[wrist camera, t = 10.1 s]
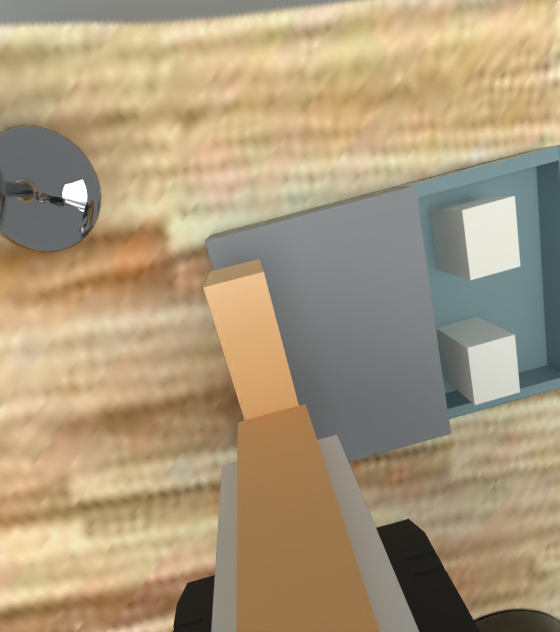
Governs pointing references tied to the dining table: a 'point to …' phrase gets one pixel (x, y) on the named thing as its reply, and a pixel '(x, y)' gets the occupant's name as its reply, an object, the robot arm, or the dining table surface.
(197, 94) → the dining table surface
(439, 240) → the white rectangular block
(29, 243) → the wine glass
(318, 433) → the grey drawer housing
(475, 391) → the white cube block
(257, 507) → the orange t-shaped block
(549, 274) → the blue-grey flat tray
